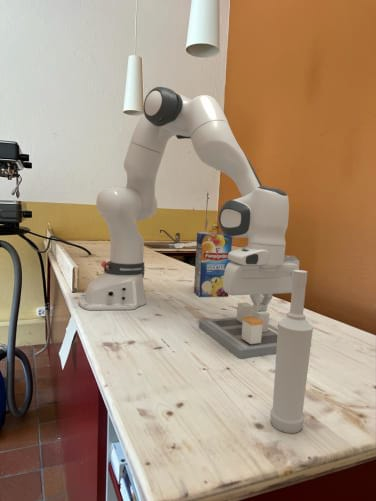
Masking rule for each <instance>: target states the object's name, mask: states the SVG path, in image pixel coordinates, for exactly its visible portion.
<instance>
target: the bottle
mask: <svg viewBox="0 0 376 501" xmlns="http://www.w3.org/2000/svg"><path fill="white" fill-rule="evenodd" d="M307 279H308V270H307V271H306V270H301V269H299V270H293V281H292V283H293V285H292V293H291V295H290V296H291V297H290V307H289V308H290V309H289V311H288V312H287V314H286V315H287V316H285V317H284V318H282V319H280V321H278V323H277V329H278V335H277V350H276V354H275V368H274V385H273V398H272V407H271V408H270V409H271V410H270V422H271V425H272V426H273V427H274V428H275V429H276V430H278V431H280V432H283V433H287V434H295V433H298V432H300V431H301V430H302V427H303V426H304V421H305V420H304V419H305V416H304V414H303V413H304V406H305V396H306V389H307V388H306V387H307V380H308V373H309V372H308V371H309V364H310V355H311V354H310V353H311V346H312V340H313V338H312V337H313V331H314V327H313V325H311V323H310V322H309V321H308V320H307V319H306V315H305V314H304V308H305V307H304V306H305V299H306V298H305V297H306V285H307V283H308V282H307Z"/></svg>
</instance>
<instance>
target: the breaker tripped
mask: <svg viewBox="0 0 376 501" xmlns="http://www.w3.org/2000/svg"><path fill="white" fill-rule="evenodd" d="M262 324H263V321H262V320H260V319H258V318H256V317H254V316H248V317H243V324H242V339H243V340H245V341H246V342H248V343H249V344H256V343H261V336H262Z"/></svg>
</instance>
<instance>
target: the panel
mask: <svg viewBox="0 0 376 501" xmlns="http://www.w3.org/2000/svg"><path fill="white" fill-rule="evenodd" d="M236 309H237V310H236V316H235V317H226V318H215V319H202V320H199V321H198V322H199V323H198V324H199V325H198V328H200V329H201V330H202V331H203V332H205V333H206V334H207V335H208V336H210V338H212V339H214V340H215V341H216V342H218V344H220V345H221V346H222V347H224V348H225V349H226V350H228V351H229V352H230V353H232V354H233V355H234V356H235V357H237V359H239V360H241V359H247V358H255V357H263V356H270V355H276V350H277V335H278V327H275V326H273V325H272V324H269V323H270V322H269V319H270V313H269V312H268V311H264V312H255V311H254V310H253V304H250V303H249V302H237V308H236ZM248 316H254V317H256V318H258V319H260V320H262V321H263V324H262V336H261V343H256V344H249V343H248V342H246V341H245V340H243V339H242V324H243V317H248Z"/></svg>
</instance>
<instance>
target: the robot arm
mask: <svg viewBox="0 0 376 501" xmlns="http://www.w3.org/2000/svg"><path fill="white" fill-rule="evenodd" d="M142 109H143V114H142V115H141V117H140V119H139V120H138V122H137V124H136V127H135V128H134V130H133V131H134V132H133V133H132V137H131V139H130V143H129V146H128V147H127V148H128V149H127V152H126V156H125V157H124V161H123V168H124V170H125V172H126V185H125V186H117V185H116V186H110V187H107V188H104V189H102V190H101V191H99V193H98V195H97V197H96V204H95V205H96V208H97V209H96V210H97V212H98V214H99V215H100V216H101V217H102V218H103V219H104V222H105V223H106V226H107V229H108V233H109V240H110V245H109V246H110V253H109V256H110V259H109V261H108V262H106V261H105V260H103V261H102V262H100V265H101V266H100V267H102V268H103V272H102V273H101V274H100V275H98V277H96V278H95V279H93V280H92V281H90V282H89V283H88V286H87V288H86V291H85V295H84V296H81V297H79V299H78V305H79V307H81V308H82V309H84V310H86V311H92V310H93V311H101V310H103V311H106V310H110V311H111V310H114V311H115V310H116V311H118V310H119V311H120V310H122V311H123V310H124V311H125V310H128V311H129V310H135V309H137V308H138V307H142V306H144V305H146V304H147V298H146V295H145V294H146V293H145V287H144V277H145V269H146V268H145V267H146V266H145V262H144V254H145V252H144V250H145V249H144V248H145V245H144V244H145V241H144V240H145V239H144V237H143V236H142V235H141V234H140V232H139V228H138V225H137V221H145V220H146V219H149V218H151V217H153V216H154V215H155V214H156V212H157V210H158V200H157V198H156V194H155V192H156V181H157V180H156V179H157V176H158V172H159V168H160V165H161V163H162V159H163V157H164V153H165V150H166V148H167V147H166V146H167V143H168V141H169V140H170V139H172V137H176V138H177V140H182V139H188V140H189V139H190V141H191V143H192V146H193V150H194V151H195V153H196V155H197V156H198V158H199V159H200V161H201V162H202V163H203V164H205V165H207V166H209V167H210V168H213V169H216V170H217V171H219V172H221V173H223V174H224V175H226V176H227V177H229V178H230V179H231V180H232V181H233V182H234V183H235V185H236V187H237V189H238V191H239V193H240V195H241V197H238V198H235V199H229V200H227V201H225V202H224V203H223V205H222V206H221V207H220V209H219V213H218V218H217V219H218V220H217V221H218V226H219V228H220V230H221V233H224V234H225V235H227V236H231V237H232V238H243V239H244V238H245V239H246V238H247V245H245V246H242V247H240V248H237V249H234V250H231V252H229V254H228V259H229V260H230V261H231V262H229V263H228V264H227V266H226V268H225V273H224V279H223V289H224V291H225V292H226V293H227V294H228V296H248V295H249V298H250V300H251V302H252V303H253V304H252V305H253V310H254V311H255V312H264V311H265V312H268V305H269V304H270V303H271V300H272V299H273V295H276V294H292V285H293V283H292V281H293V270H300V260H299V258H297V257H296V255H286V247H287V246H286V245H287V242H286V232H287V229H288V227H289V226H288V225H289V215H290V201H289V196H288V194H287V192H285V191H284V190H282V189H279V188H275V187H270V186H263V184H262V182H261V181H260V179H259V177H258V175H257V173H256V171H255V169H254V166H252V164H251V161H250V160H249V158H248V157H247V155H246V154H245V153H244V151H243V150H242V148H241V147H240V145H239V143H238V141H237V140H236V137H235V135H234V133H233V131H232V129H231V126H230V124H229V121H228V119H227V117H226V115H225V112H224V110H223V109H222V107H221V106H220V104H219V103H218V101H217V100H216V99H215V98H214V97H213V96H211V95H207V94H201V95H198V96H196V97H194V98H190V97H188V96H186V95H184V94H182V93H181V94H180V93H179V92H176V91H174V90H173V89H171V88H168V87H164V86H157V87H153V88H152V89H151V90H150V91H149V92H148V93H147V95H146V97H145V98H144V102H143V107H142ZM260 294H263V296H264V298H263V300H262V302H261V303H259V301H258V299H259V298H260Z"/></svg>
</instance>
